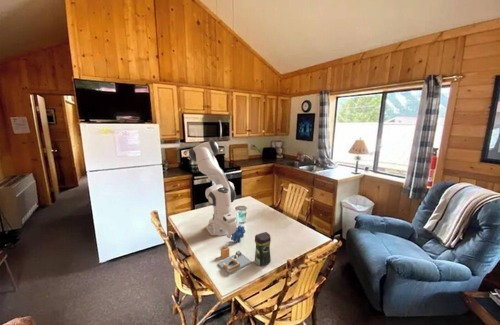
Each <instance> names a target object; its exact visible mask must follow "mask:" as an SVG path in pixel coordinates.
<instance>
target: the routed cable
mask: <svg viewBox="0 0 500 325" xmlns="http://www.w3.org/2000/svg"><path fill="white" fill-rule="evenodd" d="M241 253H242V252H241V251H240V250H237V251H236V252H235V254H236V256H235V257H234V255H235V254H234V253H233V254H232V255H231V256H233V258H234V259H235V260H237V258H238V257H239V256H241ZM232 263H233V261H232V258H231V262H230V263H229V265H231V264H232Z"/></svg>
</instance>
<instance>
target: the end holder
mask: <svg viewBox="0 0 500 325" xmlns="http://www.w3.org/2000/svg"><path fill="white" fill-rule="evenodd" d="M232 261H233V263H234V264H235V265H234V266H232V267H231V268H229V267H228V266H227V265H226V264H225V263H223V267H224V268H225V269H226V270H227V271H228V272H229V273H231V272H233V271H234V270H236V269H238V268H240V263H239V262H238V261H237V260H235V259H234V258H232Z"/></svg>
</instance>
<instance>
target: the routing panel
mask: <svg viewBox="0 0 500 325" xmlns="http://www.w3.org/2000/svg"><path fill="white" fill-rule="evenodd" d="M235 256H236V253H235V254H234V257H235ZM231 258H233V256H232V255H231V256H229V257H227V258H225V259H223V260H221V261H219V262H217V265H218V267H220V269H222V270H223V272H224V273H225V274H227V276H230V275H232V274H234V273H236V272H238V271H240V270H241V269H243V268H246V267H247V266H248V265H251V264H252V262H253V261H252V260H250V258H248V257H247V256H246V255H244V254H243V253H242V252H241V256H239V257H238V258H237V261H238V262H239V263H240V268H238V269H236V270H234V271H233V272H231V273H229V272H228V271H227V270H226V269H225V268H224V267H223V263H225V264H226V265H227V266H228V267H229V268H231V267H232V266H234V265H235V264H234V263H232V264H231V265H229V263H230V262H231Z"/></svg>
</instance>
